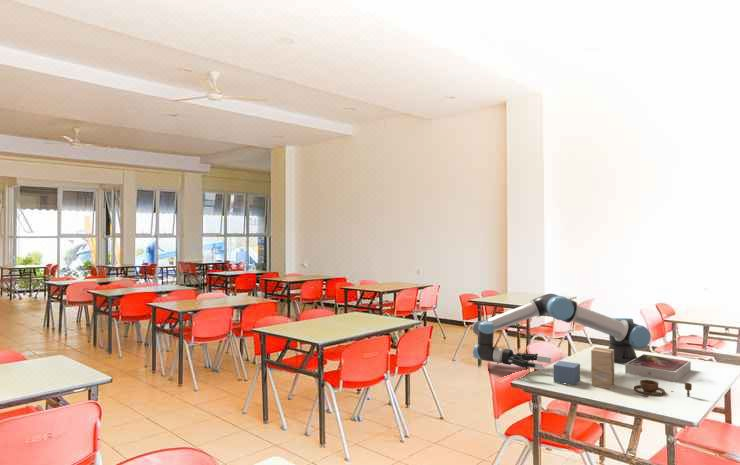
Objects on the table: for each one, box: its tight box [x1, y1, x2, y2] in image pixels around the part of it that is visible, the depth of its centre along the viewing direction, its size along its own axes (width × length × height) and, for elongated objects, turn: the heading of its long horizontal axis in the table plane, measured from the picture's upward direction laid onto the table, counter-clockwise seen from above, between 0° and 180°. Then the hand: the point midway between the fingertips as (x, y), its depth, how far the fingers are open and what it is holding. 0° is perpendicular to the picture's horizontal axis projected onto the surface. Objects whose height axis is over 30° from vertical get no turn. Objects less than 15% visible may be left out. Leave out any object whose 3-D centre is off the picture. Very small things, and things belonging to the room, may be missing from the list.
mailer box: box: [590, 346, 615, 390], centre depth 228 cm, size 8×8×16 cm
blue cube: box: [553, 360, 581, 386], centre depth 234 cm, size 9×9×8 cm
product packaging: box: [624, 353, 692, 383], centre depth 250 cm, size 22×28×5 cm
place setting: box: [633, 379, 693, 398], centre depth 215 cm, size 18×20×6 cm
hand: (546, 363), depth 240 cm, fingers open, 13 cm apart
